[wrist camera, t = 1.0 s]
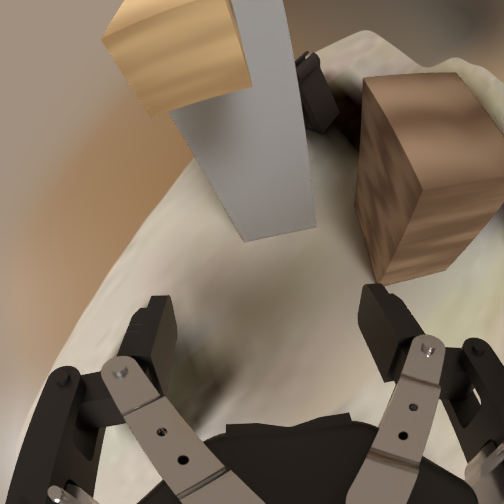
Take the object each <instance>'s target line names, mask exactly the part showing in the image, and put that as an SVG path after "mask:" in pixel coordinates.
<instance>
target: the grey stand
mask: <svg viewBox="0 0 504 504" xmlns="http://www.w3.org/2000/svg"><path fill="white" fill-rule="evenodd" d="M231 1H232V5H233V9H234V13H235V16H236V20H237V24H238V28H239V32H240V36H241V40H242V44H243V48H244V53H245V57H246V61H247V65H248V69H249V74H250V78H251V82H252V86H253V87H251V88H247V89H243V90H239V91H235V92H231V93H227V94H224V95H220V96H216V97H213V98H209V99H206V100H203V101H199V102H196V103H193V104H190V105H187V106H184V107H180V108H177V109H174V110H171V111H169V113H170V115H171V117H172V118H173V120H174V122H175V124H176V125H177V127H178V129H179V130H180V132H181V134H182V136H183V137H184V139H185V141H186V143H187V144H188V146H189V148H190V149H191V151H192V153H193V155H194V156H195V158H196V160H197V161H198V163H199V165H200V167H201V168H202V170H203V172H204V174H205V175H206V177H207V179H208V180H209V182H210V184H211V186H212V187H213V189H214V191H215V192H216V194H217V196H218V198H219V199H220V201H221V203H222V204H223V206H224V208H225V210H226V211H227V213H228V215H229V216H230V218H231V220H232V222H233V223H234V225H235V227H236V228H237V230H238V232H239V234H240V235H241V237H242V239H243V240H244V242H248V241H252V240H257V239H262V238H267V237H271V236H276V235H281V234H286V233H290V232H295V231H300V230H305V229H309V228H314V227H316V221H315V210H314V200H313V191H312V182H311V173H310V164H309V156H308V148H307V140H306V133H305V126H304V119H303V112H302V105H301V98H300V92H299V86H298V80H297V74H296V68H295V62H294V56H293V51H292V46H291V40H290V35H289V30H288V25H287V20H286V15H285V10H284V6H283V1H282V0H231Z"/></svg>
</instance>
